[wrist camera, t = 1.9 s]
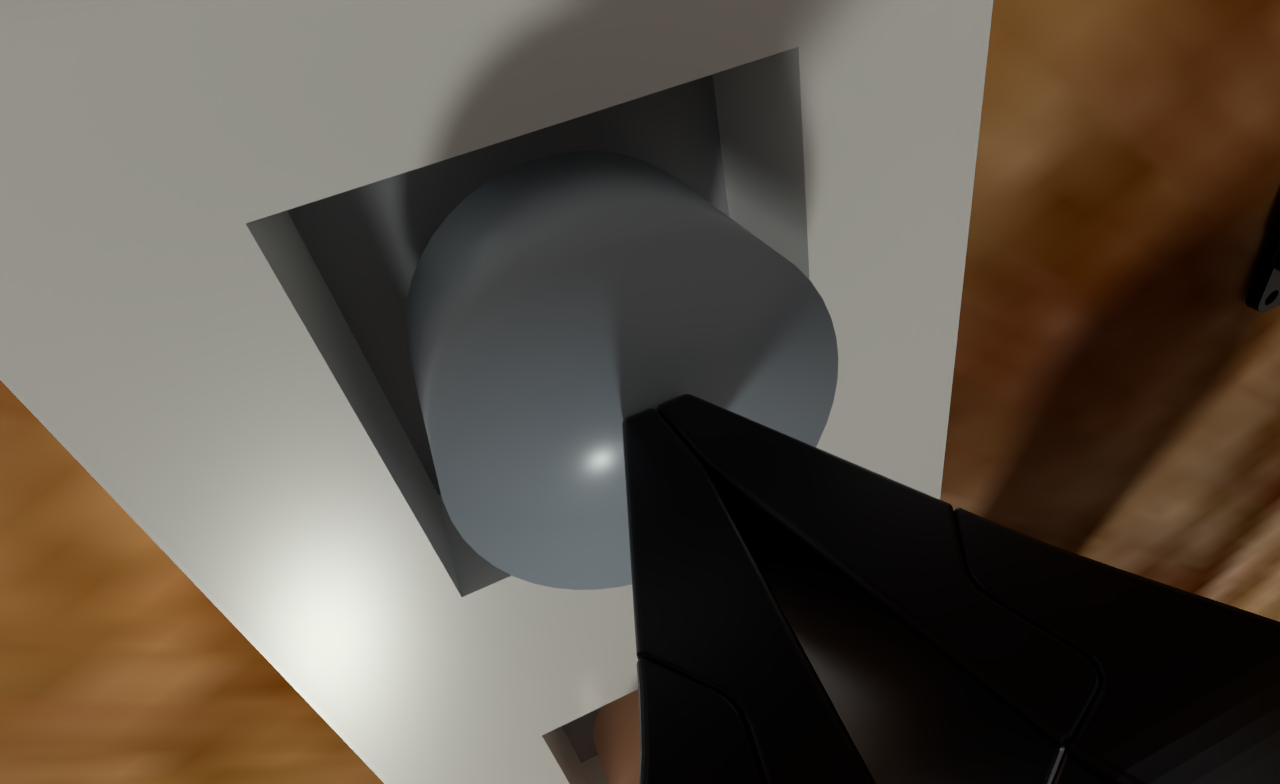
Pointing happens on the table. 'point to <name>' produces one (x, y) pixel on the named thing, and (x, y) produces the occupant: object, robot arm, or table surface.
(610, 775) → the terracotta button
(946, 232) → the button panel
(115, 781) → the table surface
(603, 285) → the slate-grey button
